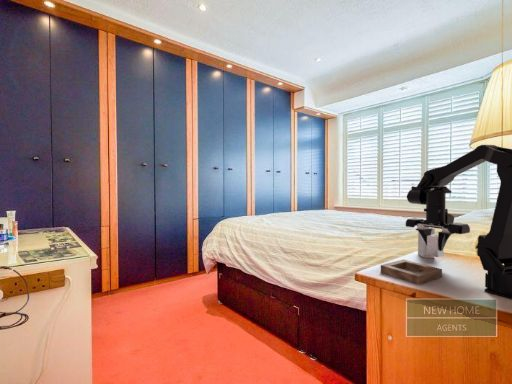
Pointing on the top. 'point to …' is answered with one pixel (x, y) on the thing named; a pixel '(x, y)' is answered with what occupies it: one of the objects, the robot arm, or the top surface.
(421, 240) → the skincare box
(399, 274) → the square wooden frame
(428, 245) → the steel square peg
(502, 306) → the top surface
